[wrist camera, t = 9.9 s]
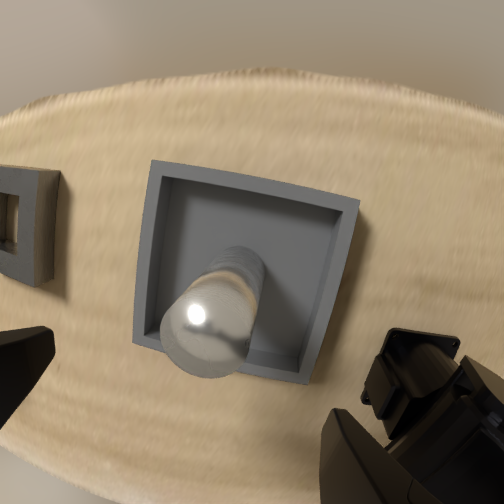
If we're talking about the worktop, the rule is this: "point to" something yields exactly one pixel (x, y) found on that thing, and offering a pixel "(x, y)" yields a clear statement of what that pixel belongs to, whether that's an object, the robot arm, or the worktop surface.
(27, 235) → the pin holder
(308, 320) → the parts tray
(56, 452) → the worktop surface
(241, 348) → the pin
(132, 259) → the worktop surface
